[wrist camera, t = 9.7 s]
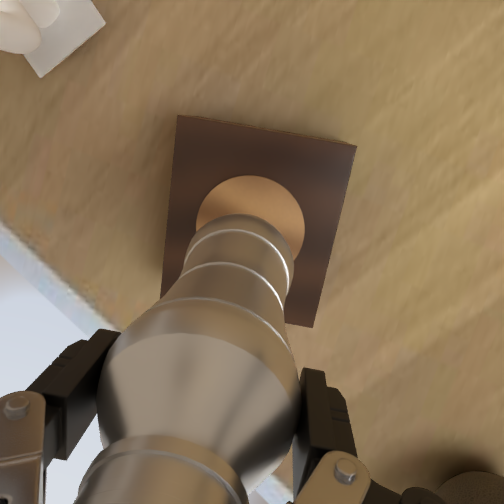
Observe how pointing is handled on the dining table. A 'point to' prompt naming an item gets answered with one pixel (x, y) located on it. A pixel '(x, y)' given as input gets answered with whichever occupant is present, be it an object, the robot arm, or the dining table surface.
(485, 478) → the cantaloupe
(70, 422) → the robot arm
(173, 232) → the walnut box
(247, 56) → the dining table surface
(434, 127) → the dining table surface
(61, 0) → the figurine
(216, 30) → the dining table surface
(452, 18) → the dining table surface
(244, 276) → the metal bottle
